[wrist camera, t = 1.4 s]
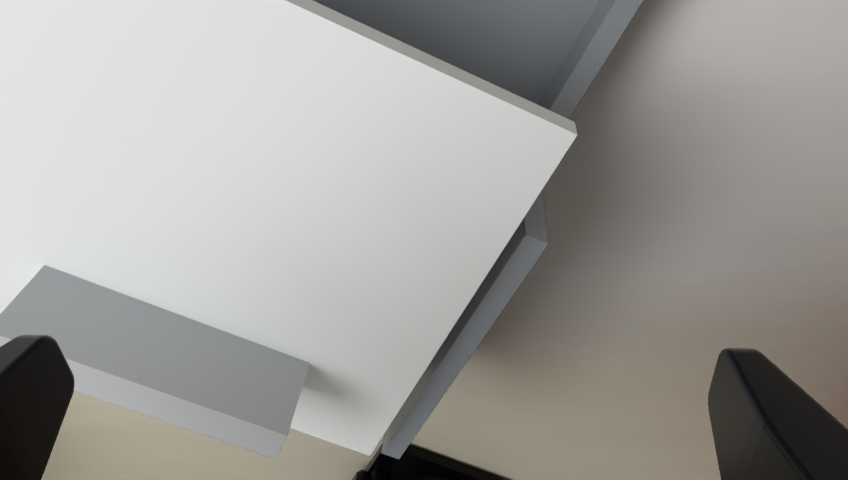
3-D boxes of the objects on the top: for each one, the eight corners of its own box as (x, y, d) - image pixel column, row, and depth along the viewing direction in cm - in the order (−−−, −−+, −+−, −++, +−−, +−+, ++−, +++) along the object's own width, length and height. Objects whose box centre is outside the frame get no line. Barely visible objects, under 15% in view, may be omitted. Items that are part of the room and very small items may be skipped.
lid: (574, 122, 14) (590, 197, 12) (372, 439, 21) (355, 530, 18) (-48, -167, 12) (-185, -148, 10) (-58, 286, 19) (-142, 366, 16)
